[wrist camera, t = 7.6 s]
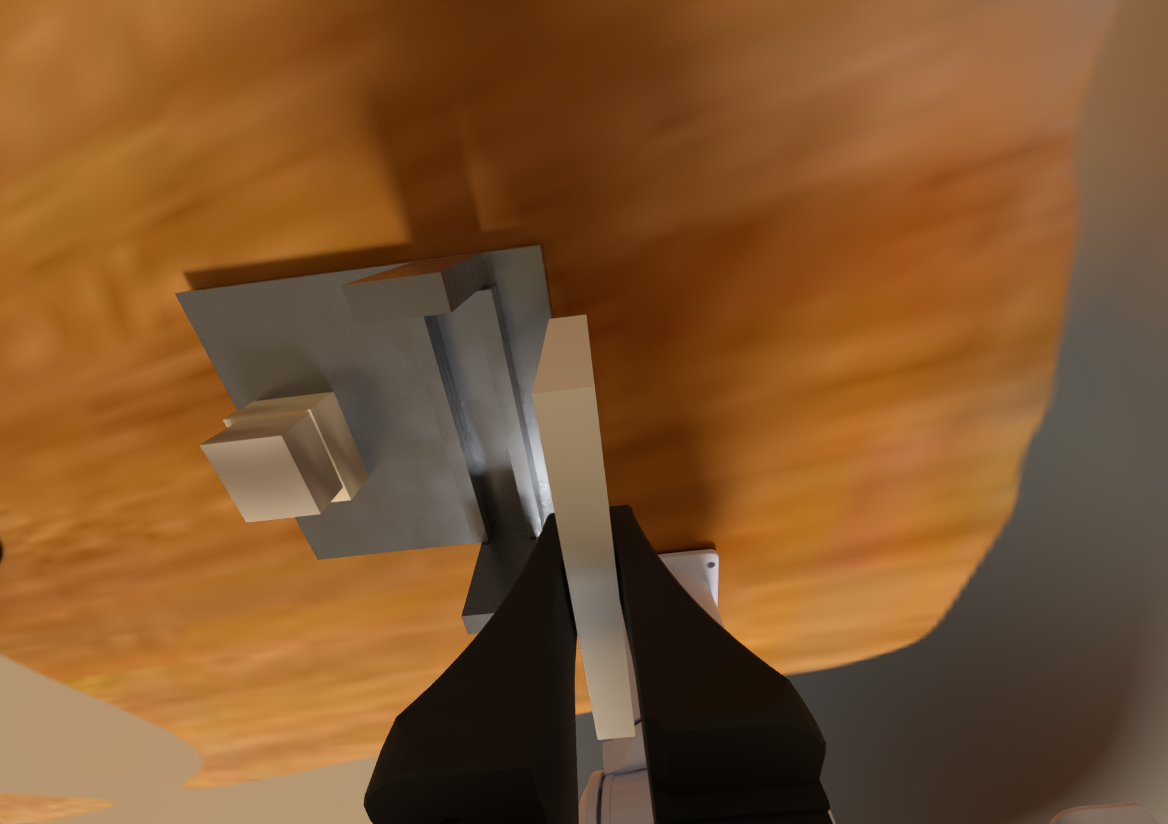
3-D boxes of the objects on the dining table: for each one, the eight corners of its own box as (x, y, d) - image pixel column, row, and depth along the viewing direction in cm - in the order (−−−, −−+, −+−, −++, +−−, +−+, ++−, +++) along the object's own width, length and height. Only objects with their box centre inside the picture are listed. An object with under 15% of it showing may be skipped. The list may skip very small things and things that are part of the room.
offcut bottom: (368, 476, 22) (351, 500, 21) (296, 485, 23) (272, 508, 21) (333, 391, 20) (310, 409, 18) (253, 401, 20) (223, 419, 19)
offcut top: (343, 487, 20) (320, 514, 18) (275, 494, 20) (246, 522, 19) (309, 413, 19) (281, 435, 17) (235, 422, 19) (199, 445, 17)
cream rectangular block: (618, 583, 19) (635, 736, 13) (590, 585, 19) (597, 740, 13) (586, 314, 13) (594, 386, 8) (549, 319, 13) (532, 393, 8)
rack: (584, 519, 25) (587, 622, 19) (326, 547, 26) (246, 656, 20) (541, 243, 18) (524, 260, 12) (193, 289, 19) (5, 328, 13)
